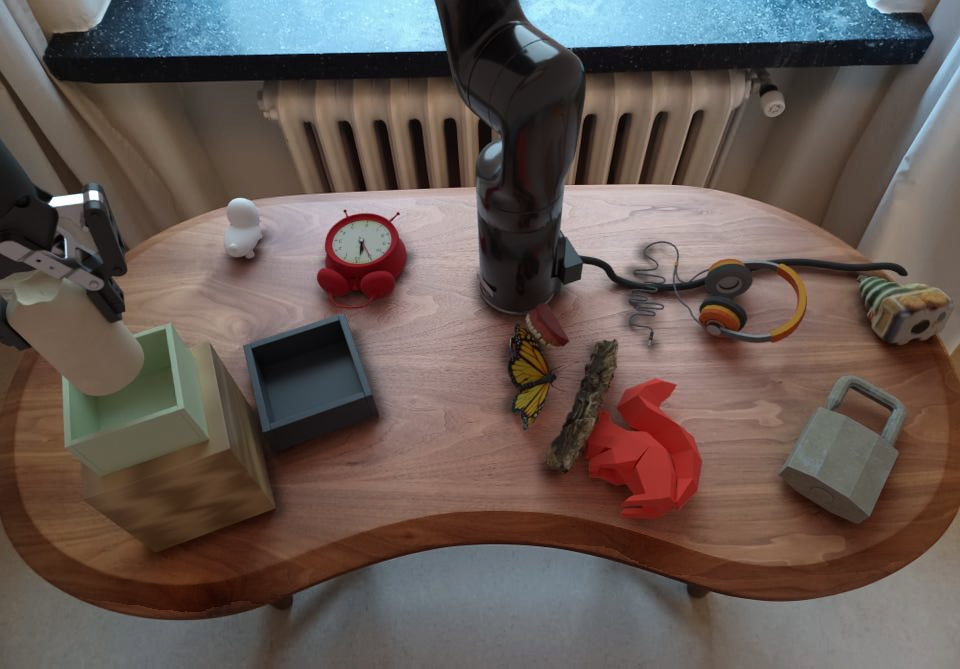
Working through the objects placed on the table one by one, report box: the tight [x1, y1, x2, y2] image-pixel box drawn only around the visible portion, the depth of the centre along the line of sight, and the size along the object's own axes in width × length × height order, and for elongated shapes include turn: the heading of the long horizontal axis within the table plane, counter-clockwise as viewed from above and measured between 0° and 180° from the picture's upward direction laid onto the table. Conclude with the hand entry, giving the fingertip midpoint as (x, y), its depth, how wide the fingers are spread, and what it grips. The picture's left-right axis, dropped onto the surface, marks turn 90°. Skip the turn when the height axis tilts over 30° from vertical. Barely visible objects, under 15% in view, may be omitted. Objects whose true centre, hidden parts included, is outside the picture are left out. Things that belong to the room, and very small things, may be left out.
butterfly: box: [507, 323, 581, 432], centre depth 72 cm, size 12×9×5 cm
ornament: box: [856, 274, 955, 346], centre depth 78 cm, size 8×6×10 cm
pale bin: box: [61, 322, 209, 477], centre depth 57 cm, size 9×9×6 cm
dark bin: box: [242, 312, 380, 453], centre depth 74 cm, size 12×12×5 cm
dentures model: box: [508, 303, 570, 370], centre depth 75 cm, size 6×4×8 cm
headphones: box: [628, 240, 808, 348], centre depth 79 cm, size 17×5×20 cm
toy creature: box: [223, 197, 264, 259], centre depth 87 cm, size 5×8×6 cm, turn 173°
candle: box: [6, 270, 144, 396], centre depth 49 cm, size 6×6×10 cm
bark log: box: [542, 338, 620, 474], centre depth 71 cm, size 18×5×7 cm, turn 157°
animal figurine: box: [584, 377, 703, 520], centre depth 69 cm, size 12×15×5 cm
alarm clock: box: [316, 209, 408, 310], centre depth 84 cm, size 10×6×15 cm
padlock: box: [778, 375, 908, 525], centre depth 69 cm, size 4×8×15 cm
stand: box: [80, 340, 277, 553], centre depth 65 cm, size 12×12×14 cm
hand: (72, 325), depth 48 cm, fingers closed on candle, 5 cm apart
